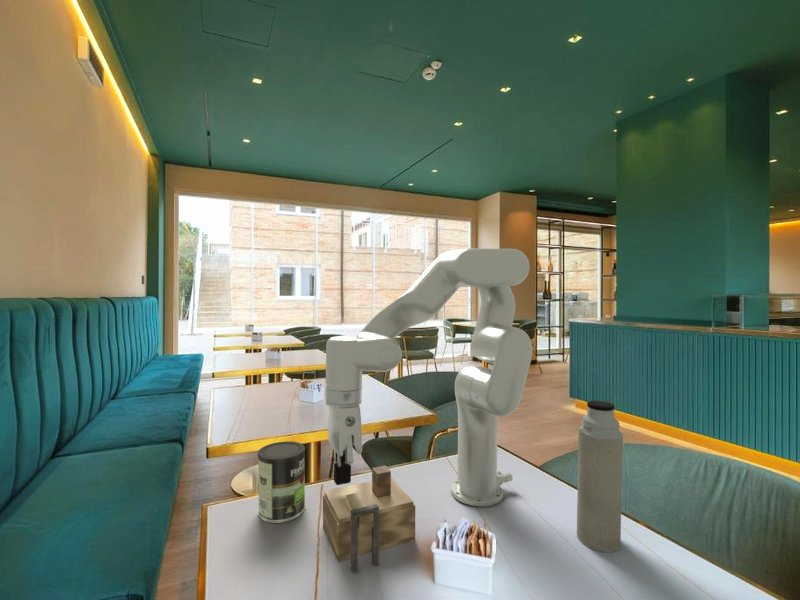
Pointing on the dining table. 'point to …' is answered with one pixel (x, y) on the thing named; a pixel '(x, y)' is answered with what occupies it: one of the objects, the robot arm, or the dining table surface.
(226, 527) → the dining table surface
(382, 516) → the wooden box
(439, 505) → the dining table surface
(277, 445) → the coffee can
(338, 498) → the lid
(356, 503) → the tan rectangular block
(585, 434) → the thermos bottle
